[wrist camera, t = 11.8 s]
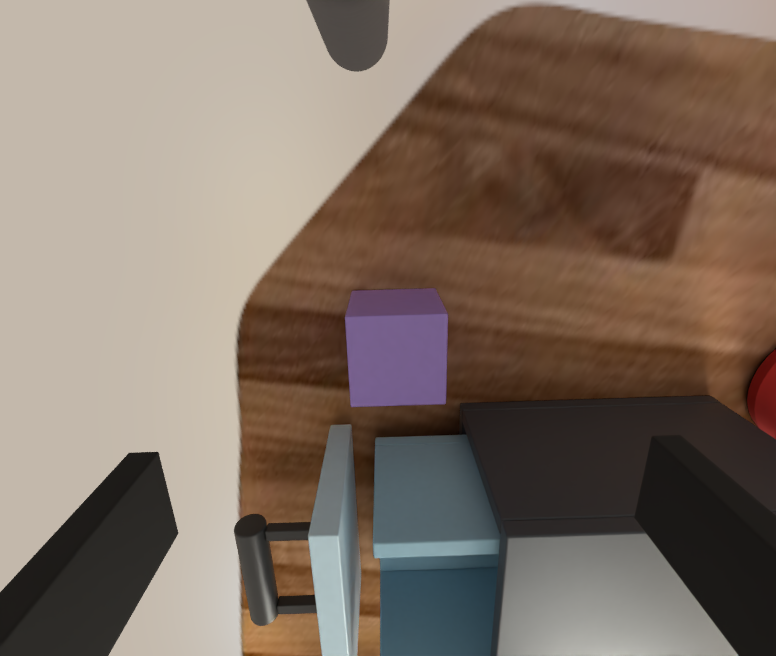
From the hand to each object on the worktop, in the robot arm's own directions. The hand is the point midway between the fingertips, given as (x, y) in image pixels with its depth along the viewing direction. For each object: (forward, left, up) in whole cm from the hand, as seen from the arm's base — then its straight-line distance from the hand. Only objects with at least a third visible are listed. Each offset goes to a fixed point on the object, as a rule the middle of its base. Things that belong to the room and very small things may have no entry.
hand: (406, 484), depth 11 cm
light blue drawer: (+11, +1, -11) cm, 16 cm away
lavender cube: (0, 0, -12) cm, 12 cm away
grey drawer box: (+11, +11, -12) cm, 20 cm away
